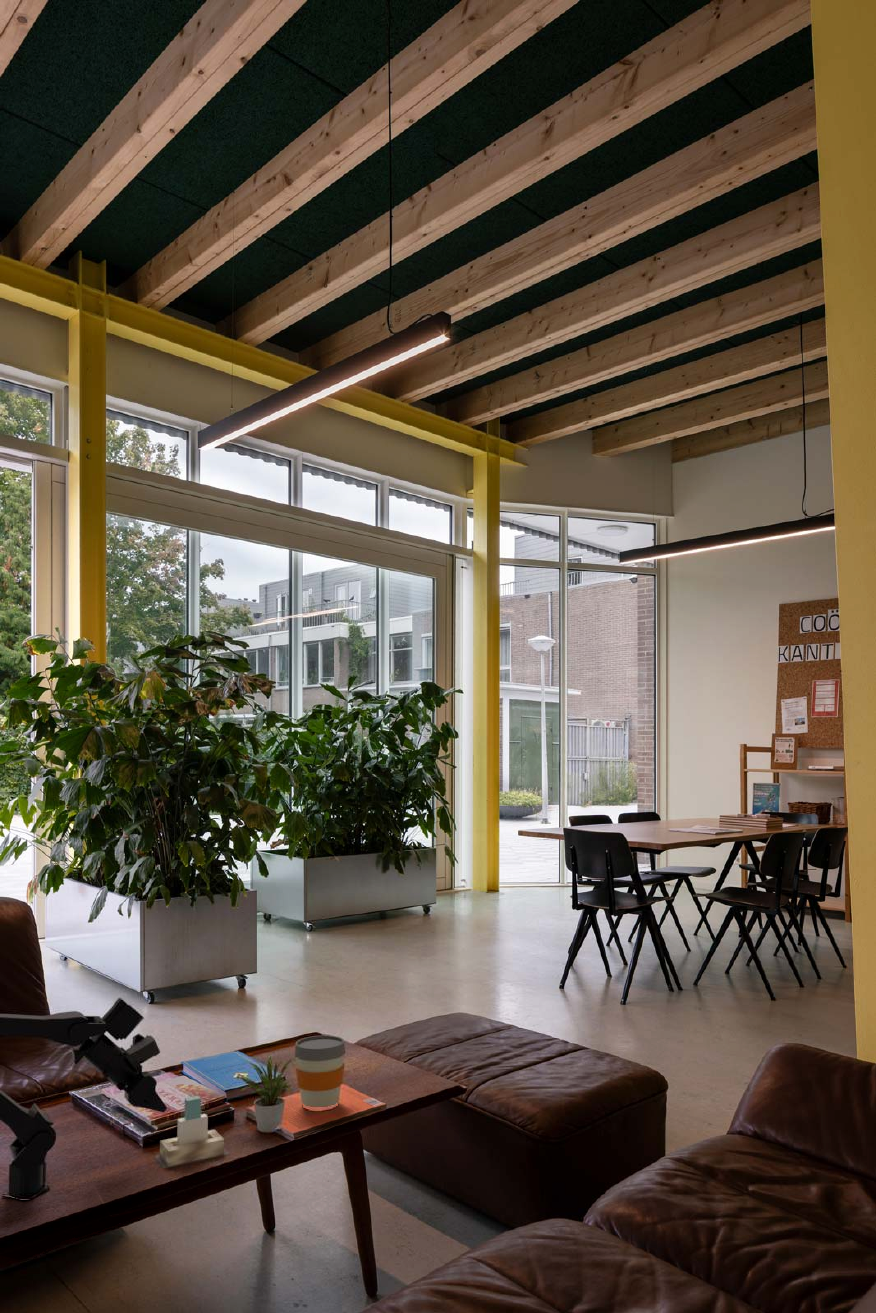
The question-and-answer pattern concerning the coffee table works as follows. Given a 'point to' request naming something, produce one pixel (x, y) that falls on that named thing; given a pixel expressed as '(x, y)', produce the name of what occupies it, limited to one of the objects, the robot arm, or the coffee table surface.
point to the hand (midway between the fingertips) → (159, 1103)
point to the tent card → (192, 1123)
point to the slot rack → (191, 1149)
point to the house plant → (268, 1096)
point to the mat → (186, 1162)
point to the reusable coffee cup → (320, 1069)
